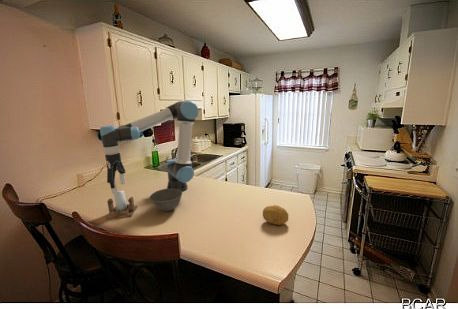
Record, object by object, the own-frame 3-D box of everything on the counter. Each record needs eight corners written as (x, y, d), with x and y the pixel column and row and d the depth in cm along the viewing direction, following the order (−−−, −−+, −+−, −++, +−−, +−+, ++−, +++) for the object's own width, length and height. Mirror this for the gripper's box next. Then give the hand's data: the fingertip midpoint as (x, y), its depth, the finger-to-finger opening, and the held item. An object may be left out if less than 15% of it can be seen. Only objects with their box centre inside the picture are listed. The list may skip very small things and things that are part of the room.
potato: (286, 213, 104) (289, 203, 112) (259, 210, 110) (264, 200, 118) (287, 230, 107) (290, 219, 115) (261, 226, 112) (265, 215, 120)
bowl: (150, 206, 137) (148, 191, 135) (180, 200, 144) (179, 186, 142) (153, 220, 120) (150, 203, 118) (186, 212, 127) (185, 197, 125)
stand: (137, 207, 137) (135, 193, 135) (131, 216, 125) (129, 202, 123) (114, 209, 136) (112, 195, 134) (106, 218, 124) (103, 204, 122)
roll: (128, 208, 133) (125, 190, 130) (125, 213, 128) (122, 193, 125) (119, 209, 133) (116, 190, 130) (115, 213, 127) (112, 194, 124)
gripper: (114, 149, 134) (120, 181, 139) (94, 159, 109) (103, 198, 115) (126, 148, 134) (132, 180, 139) (110, 158, 110) (117, 196, 115)
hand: (119, 188), depth 127 cm, fingers open, 13 cm apart
